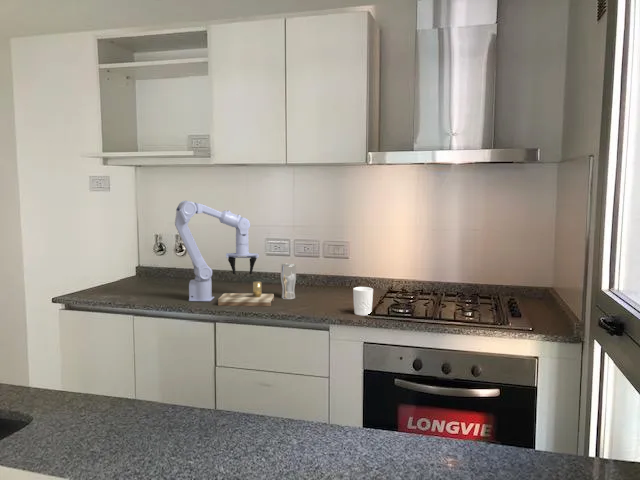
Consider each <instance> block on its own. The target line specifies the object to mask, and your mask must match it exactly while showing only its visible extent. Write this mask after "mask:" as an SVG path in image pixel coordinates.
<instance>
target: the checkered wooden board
mask: <svg viewBox="0 0 640 480" xmlns="http://www.w3.org/2000/svg"><path fill="white" fill-rule="evenodd" d="M274 301H275V295H274V293H262V295H261V296H260V297H255V296H253V293H245V292H244V293H243V292H242V293H240V292H239V293H237V292H236V293H233V292H232V293H231V292H229V293H227V292H225V293H224V292H223V294H221V295H220V297H219V298H217V305H218V306H220V307H221V306H230V307H236V306H237V307H239V306H240V307H271V306H272V302H274Z"/></svg>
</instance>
